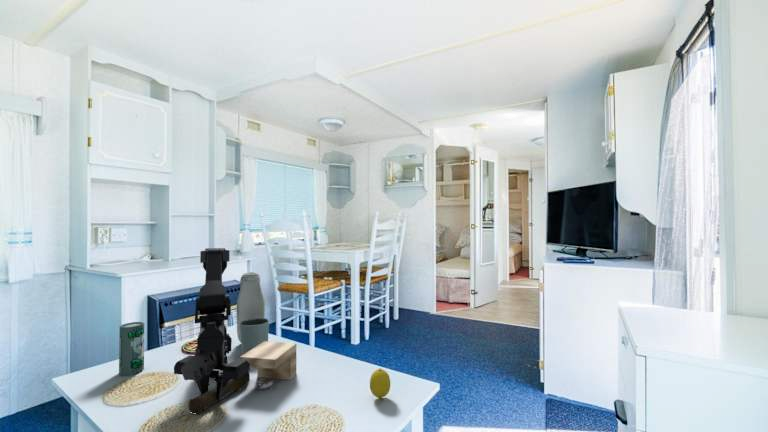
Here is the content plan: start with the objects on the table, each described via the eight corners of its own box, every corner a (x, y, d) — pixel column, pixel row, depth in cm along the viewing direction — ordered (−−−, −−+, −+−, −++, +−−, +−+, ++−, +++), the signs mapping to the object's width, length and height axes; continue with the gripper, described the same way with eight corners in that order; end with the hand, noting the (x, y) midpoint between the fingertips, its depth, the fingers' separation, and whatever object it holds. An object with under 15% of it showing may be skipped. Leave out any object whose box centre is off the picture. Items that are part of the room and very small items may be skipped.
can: (139, 374, 107) (140, 326, 107) (116, 377, 105) (117, 328, 105) (145, 366, 113) (146, 321, 113) (123, 369, 110) (124, 323, 111)
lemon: (383, 406, 87) (383, 374, 87) (365, 400, 90) (365, 370, 90) (394, 396, 92) (394, 367, 92) (377, 391, 95) (377, 362, 95)
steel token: (253, 391, 96) (253, 384, 96) (261, 384, 100) (261, 377, 100) (267, 392, 95) (267, 385, 95) (275, 385, 99) (275, 378, 99)
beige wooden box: (239, 390, 96) (239, 356, 96) (264, 371, 108) (264, 341, 109) (275, 394, 94) (275, 359, 94) (296, 373, 106) (296, 343, 106)
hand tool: (198, 417, 83) (198, 398, 83) (187, 413, 84) (187, 394, 85) (256, 384, 100) (256, 368, 100) (246, 381, 102) (246, 365, 102)
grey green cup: (263, 360, 117) (263, 325, 117) (234, 360, 117) (234, 325, 118) (273, 349, 127) (273, 317, 128) (246, 349, 127) (246, 317, 128)
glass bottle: (254, 337, 141) (254, 270, 141) (269, 342, 135) (269, 272, 135) (231, 344, 133) (231, 273, 133) (246, 350, 127) (246, 275, 127)
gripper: (156, 348, 83) (155, 412, 83) (223, 353, 80) (223, 421, 79) (190, 334, 94) (189, 390, 94) (251, 338, 90) (250, 397, 90)
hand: (211, 399), depth 89 cm, fingers closed on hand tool, 4 cm apart
